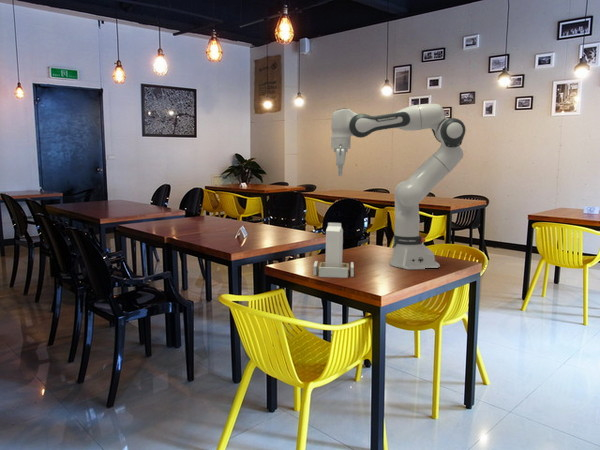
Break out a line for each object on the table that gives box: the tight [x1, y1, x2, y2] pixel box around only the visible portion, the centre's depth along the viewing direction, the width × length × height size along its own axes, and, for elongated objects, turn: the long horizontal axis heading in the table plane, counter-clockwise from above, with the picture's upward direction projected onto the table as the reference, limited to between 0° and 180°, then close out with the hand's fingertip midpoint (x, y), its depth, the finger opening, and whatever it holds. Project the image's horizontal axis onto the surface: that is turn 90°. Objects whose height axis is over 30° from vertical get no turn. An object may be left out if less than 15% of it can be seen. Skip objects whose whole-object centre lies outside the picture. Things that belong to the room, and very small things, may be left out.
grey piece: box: [312, 260, 355, 279], centre depth 211 cm, size 17×12×4 cm
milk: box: [325, 222, 344, 268], centre depth 212 cm, size 6×6×22 cm
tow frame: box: [317, 261, 350, 278], centre depth 219 cm, size 13×25×4 cm, turn 175°
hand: (340, 175), depth 225 cm, fingers open, 8 cm apart
